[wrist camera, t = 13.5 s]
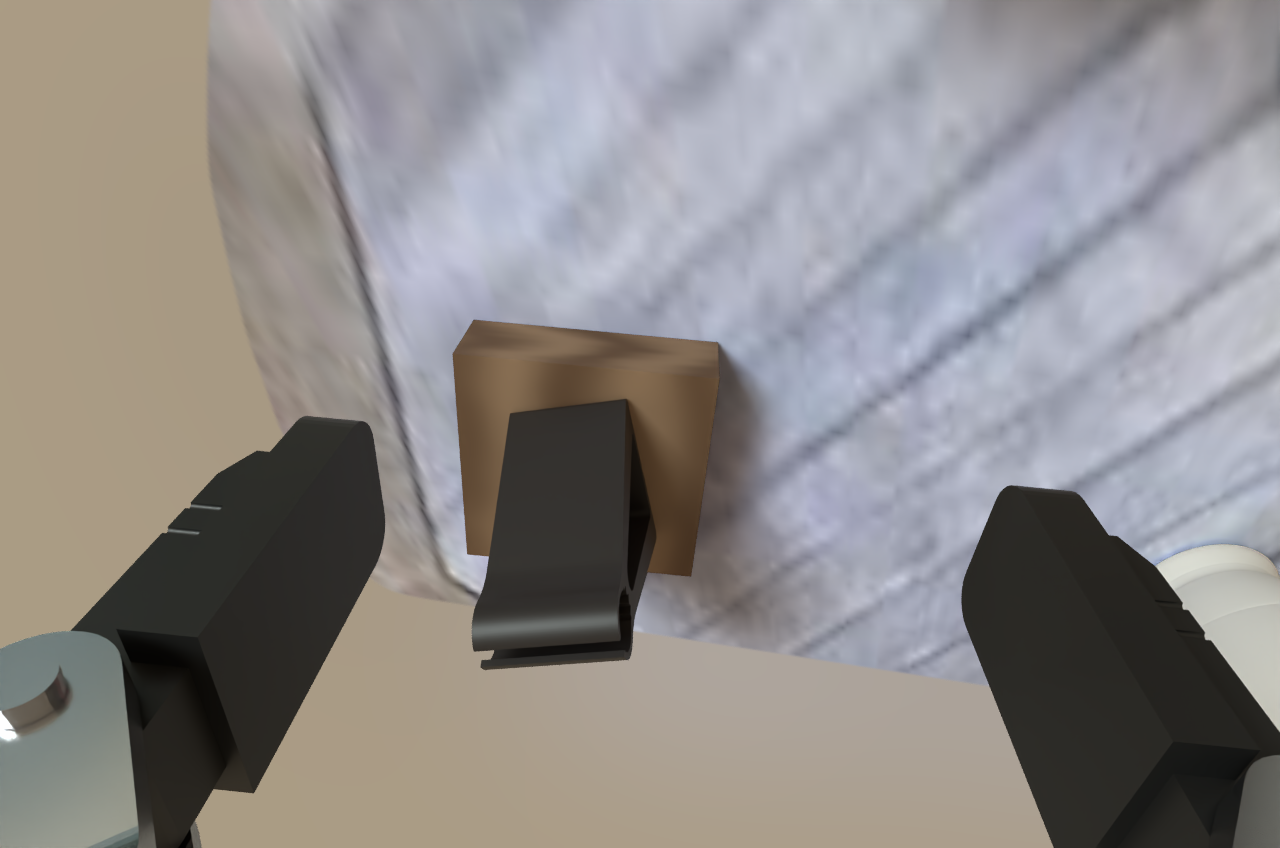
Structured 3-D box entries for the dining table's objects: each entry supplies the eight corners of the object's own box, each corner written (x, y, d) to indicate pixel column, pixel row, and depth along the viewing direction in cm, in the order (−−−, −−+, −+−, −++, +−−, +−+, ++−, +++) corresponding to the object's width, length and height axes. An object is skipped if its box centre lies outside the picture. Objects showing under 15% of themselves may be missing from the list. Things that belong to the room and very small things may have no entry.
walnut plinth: (717, 342, 39) (719, 378, 36) (691, 531, 46) (691, 576, 43) (473, 319, 40) (452, 353, 36) (484, 510, 46) (467, 554, 43)
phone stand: (656, 535, 41) (642, 722, 31) (552, 544, 42) (506, 729, 32) (627, 395, 37) (599, 563, 27) (511, 409, 38) (441, 576, 27)
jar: (1145, 520, 43) (1329, 752, 31) (1328, 533, 43) (1590, 774, 30) (1081, 645, 49) (1214, 884, 36) (1242, 657, 49) (1433, 904, 36)
